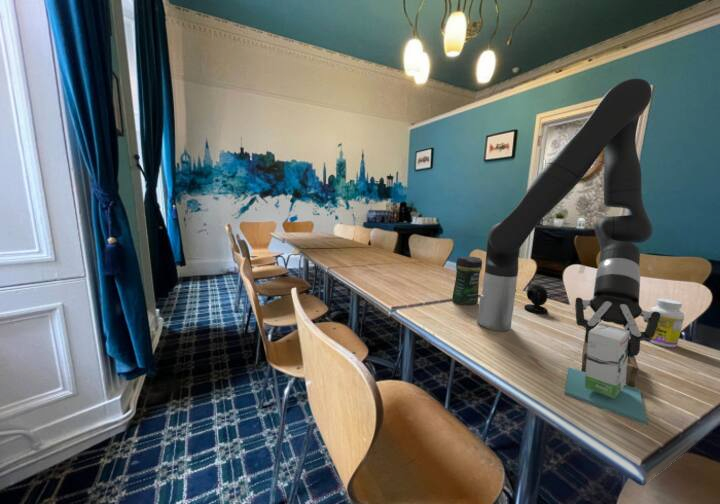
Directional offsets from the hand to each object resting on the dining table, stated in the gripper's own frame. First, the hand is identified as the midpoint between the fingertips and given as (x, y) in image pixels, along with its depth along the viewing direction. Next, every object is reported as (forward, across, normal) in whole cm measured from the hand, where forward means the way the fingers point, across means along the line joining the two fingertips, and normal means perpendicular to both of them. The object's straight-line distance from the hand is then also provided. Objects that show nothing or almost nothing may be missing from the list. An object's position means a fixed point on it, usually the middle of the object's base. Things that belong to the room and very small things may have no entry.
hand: (610, 349), depth 57 cm
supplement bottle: (-23, +14, +37) cm, 45 cm away
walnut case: (-2, +1, +16) cm, 16 cm away
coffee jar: (-19, -41, +32) cm, 55 cm away
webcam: (-26, -18, +40) cm, 50 cm away
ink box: (+6, 0, +5) cm, 8 cm away
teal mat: (+7, 0, +6) cm, 9 cm away
